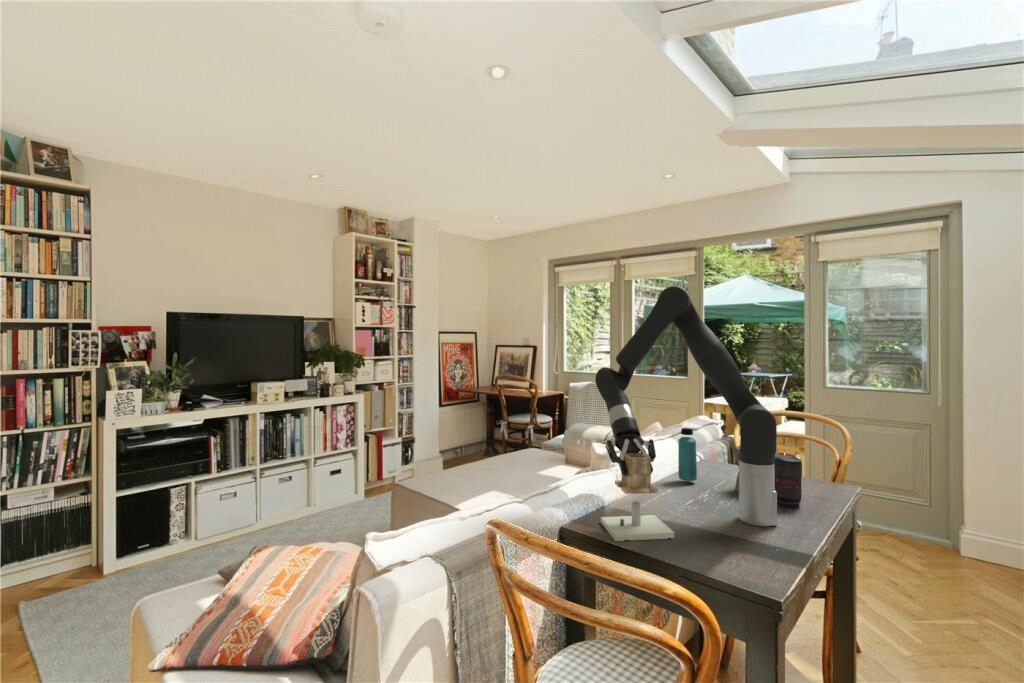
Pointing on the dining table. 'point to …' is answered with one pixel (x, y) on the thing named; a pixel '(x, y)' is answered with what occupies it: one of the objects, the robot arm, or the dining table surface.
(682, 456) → the beverage bottle
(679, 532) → the dining table surface
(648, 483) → the flange collar
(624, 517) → the post plate
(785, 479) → the camera lens
